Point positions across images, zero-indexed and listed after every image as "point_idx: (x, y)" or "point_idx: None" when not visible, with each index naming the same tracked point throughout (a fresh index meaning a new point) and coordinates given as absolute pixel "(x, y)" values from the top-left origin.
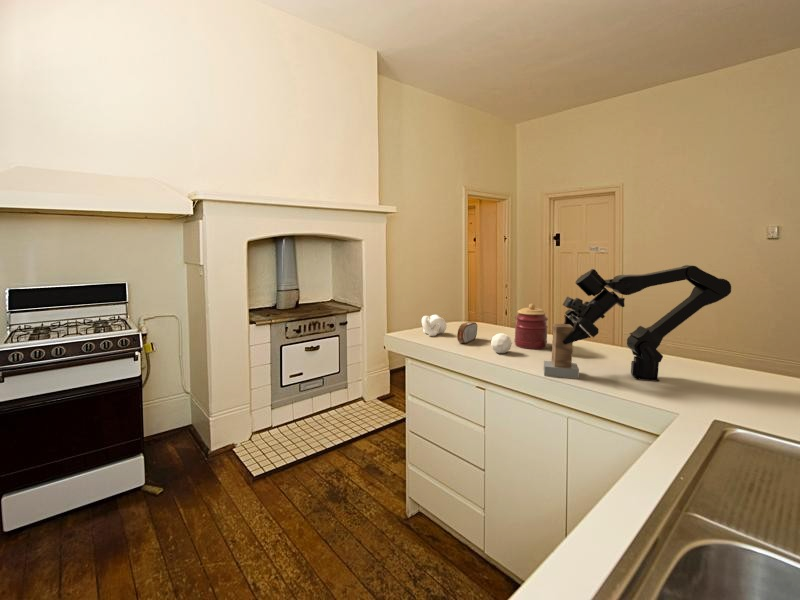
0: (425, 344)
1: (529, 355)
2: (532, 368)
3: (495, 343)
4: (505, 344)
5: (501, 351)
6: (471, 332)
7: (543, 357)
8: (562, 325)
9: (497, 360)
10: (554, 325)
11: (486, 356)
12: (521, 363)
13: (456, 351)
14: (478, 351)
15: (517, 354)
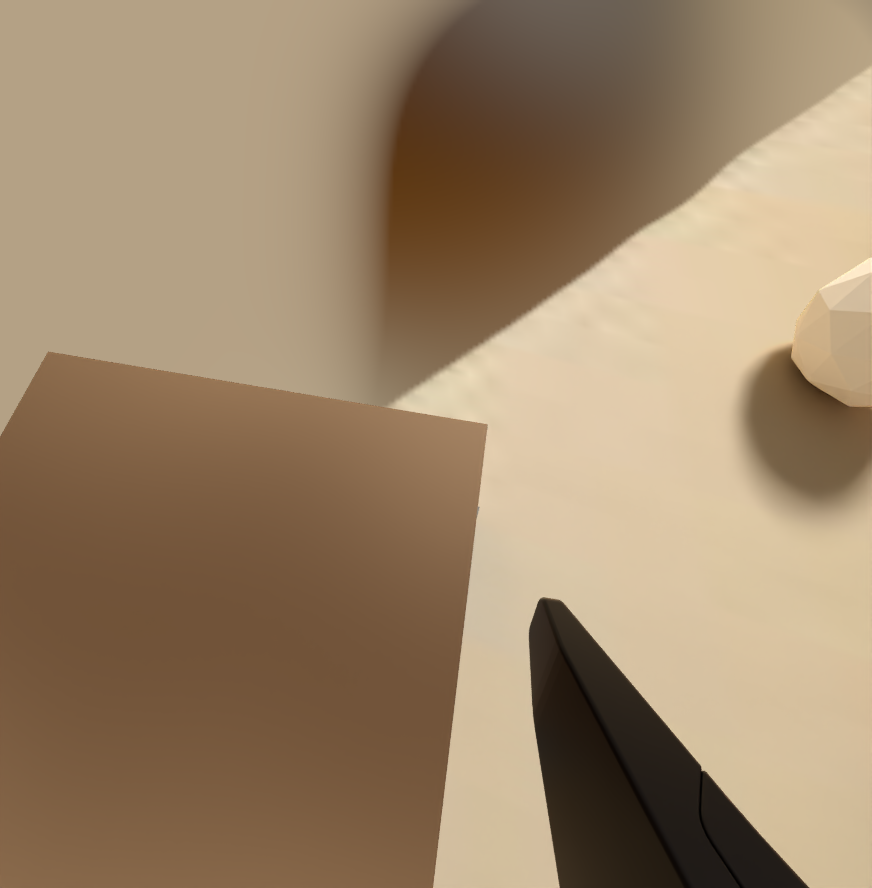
0: (865, 81)
1: (810, 535)
2: (490, 455)
3: (837, 278)
4: (834, 334)
5: (792, 348)
6: None
7: (782, 628)
8: (204, 608)
9: (640, 310)
10: (323, 403)
11: (712, 276)
12: (595, 422)
13: (775, 169)
14: (810, 261)
15: (812, 459)
